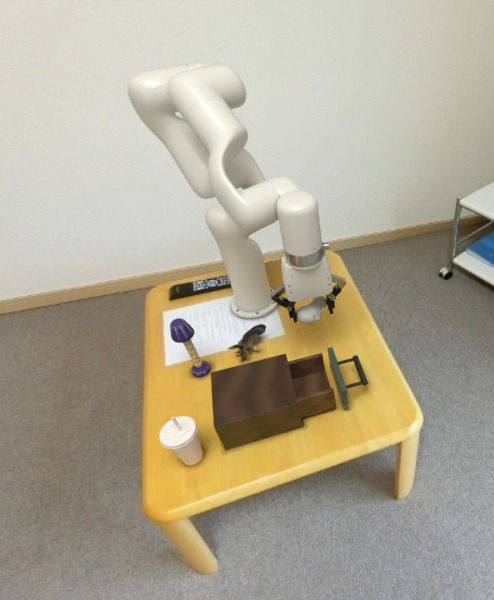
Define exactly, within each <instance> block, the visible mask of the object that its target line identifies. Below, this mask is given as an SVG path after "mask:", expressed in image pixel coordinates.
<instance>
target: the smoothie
mask: <svg viewBox="0 0 494 600" xmlns="http://www.w3.org/2000/svg"><path fill="white" fill-rule="evenodd" d="M158 438H159V442H160V443H161V445H162V446H163V447H164V448H165V449H169V450H170V451H171V452H172V453H173V454H174V455H175V456H176V457H177V458H178V459H179V460H181V461H182V463H184V464H185V465H187V466H194V465H196V464H198V463H199V462H200V461H201V460H202V458H203V457H204V451H203V448H202V445H201V441H200V437H199V434H198V425H197V423H196V421H195V420H194V419H193V418H192V417H190V416H188V415H187V416H186V415H181V416H176V417H175V416H174V415H173V416H171V417H170V420H168V421H167V422H166V423H165V424H164V425H163V426H162V427H161V429H160V431H159V435H158Z"/></svg>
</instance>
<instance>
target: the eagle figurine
mask: <svg viewBox="0 0 494 600" xmlns="http://www.w3.org/2000/svg"><path fill="white" fill-rule="evenodd" d="M266 329H267V325H265V324H264V323H260V324H256V325H253V326H252V327H251V328H250V329H249V330H247V331H246V332H245V333H243V335H242V338H241V339H240V340H239V341H238V342H237V344H233V345H231V346H228V347H227V349H228V350H235V349H239V350H237V351H235V352H234V353H235V354H236V355H235V357H236V358H238V357H239V358H241V362H244V361H245V360H246V358H247V357H248V356H251V355H252V354H253V352H251V351H254V352H258V353H259V352H260V349H259V347H257V346H255V345H254V342H255V341H258V340H260V339H262V337H261V336H262V335H263V334H264V333H265V332H266ZM248 351H250V352H248Z"/></svg>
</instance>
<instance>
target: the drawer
mask: <svg viewBox="0 0 494 600" xmlns="http://www.w3.org/2000/svg"><path fill="white" fill-rule="evenodd" d="M326 351H327V358H328V362H329V363H328V364H329V369H330V372H331V375H332V378H333V381H334V384H335V387H336V391H337V394H338V397H339V400H340V403H341V406H342V410H347V409H349V408H350V406H349V405H350V404H349V396H348V390H349V389H352V388H356V387H358V386H364V387H365V386H368V385H369V381H368V378H367V376H366V373H365V370H364V368H363V365H362V362H361V360H360V358H359V355H357V354H355V355H352V357H350V358H346V359H343V360H340V361H338V359H337V356H336V352H335V351H334V347H333V346H329V347H327V348H326ZM352 362H353V364H354V366H355V369H356V372H357V374H358V378H359V381H357V382H352V383H350V384H346V382H345V380H344V376H343V374H342V370H341V368H340V366H341V365H345V364H349V363H352ZM288 364H289V369H290V373H291V377H292V382H293V386H294V390H295V394H296V399H297V403H298V407H299V411H300V416H301V419H303V418H306V417H310V416H314V415H317V414H320V413H323V412H327V411H329V410H334V409H336V408H337V404H336V397H335V396H336V395H335V390H334V387H331V384H330V382H329V378H328V376H327V372H326V367H325V361H324V355H323V353H322V352H320V353H316V354H313V355H312V354H311V355H308V356H304V357H301V358H297V359H293V360H288Z"/></svg>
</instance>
